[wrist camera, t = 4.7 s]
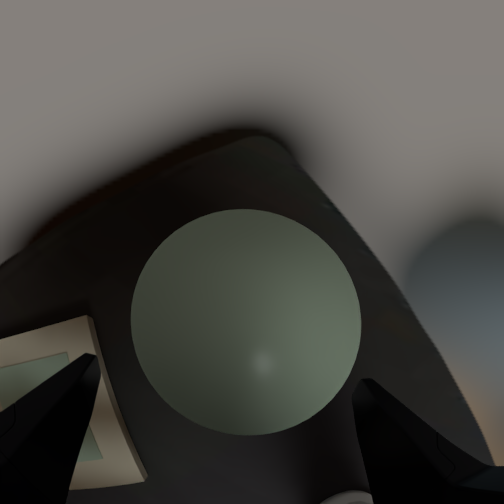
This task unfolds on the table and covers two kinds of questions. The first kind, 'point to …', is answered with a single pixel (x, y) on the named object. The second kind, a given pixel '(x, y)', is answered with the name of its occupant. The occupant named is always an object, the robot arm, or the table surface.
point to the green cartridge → (245, 322)
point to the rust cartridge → (350, 498)
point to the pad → (105, 408)
